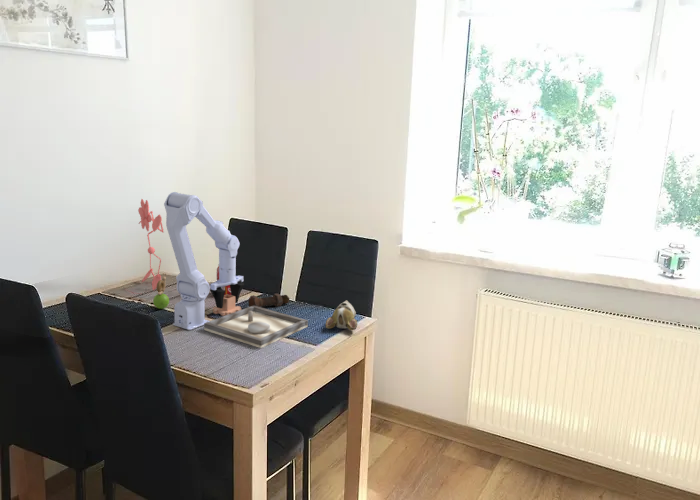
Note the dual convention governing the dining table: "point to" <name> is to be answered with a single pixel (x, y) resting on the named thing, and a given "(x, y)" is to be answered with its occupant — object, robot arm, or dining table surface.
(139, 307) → the dining table surface
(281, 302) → the bolt
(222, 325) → the carrier plate
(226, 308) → the gear
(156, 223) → the figurine
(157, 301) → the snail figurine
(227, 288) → the soda can
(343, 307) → the ceramic sculpture
